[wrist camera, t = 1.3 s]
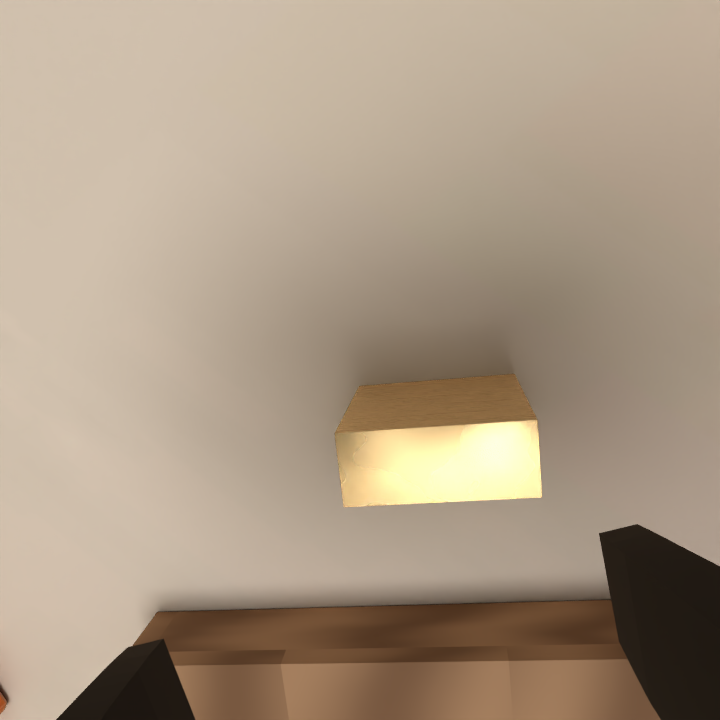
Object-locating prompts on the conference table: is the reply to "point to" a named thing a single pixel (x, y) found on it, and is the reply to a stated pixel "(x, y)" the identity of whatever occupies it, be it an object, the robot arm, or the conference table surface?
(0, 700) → the supplement box
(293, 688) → the wooden board with recess
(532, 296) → the conference table surface
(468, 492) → the wooden block
